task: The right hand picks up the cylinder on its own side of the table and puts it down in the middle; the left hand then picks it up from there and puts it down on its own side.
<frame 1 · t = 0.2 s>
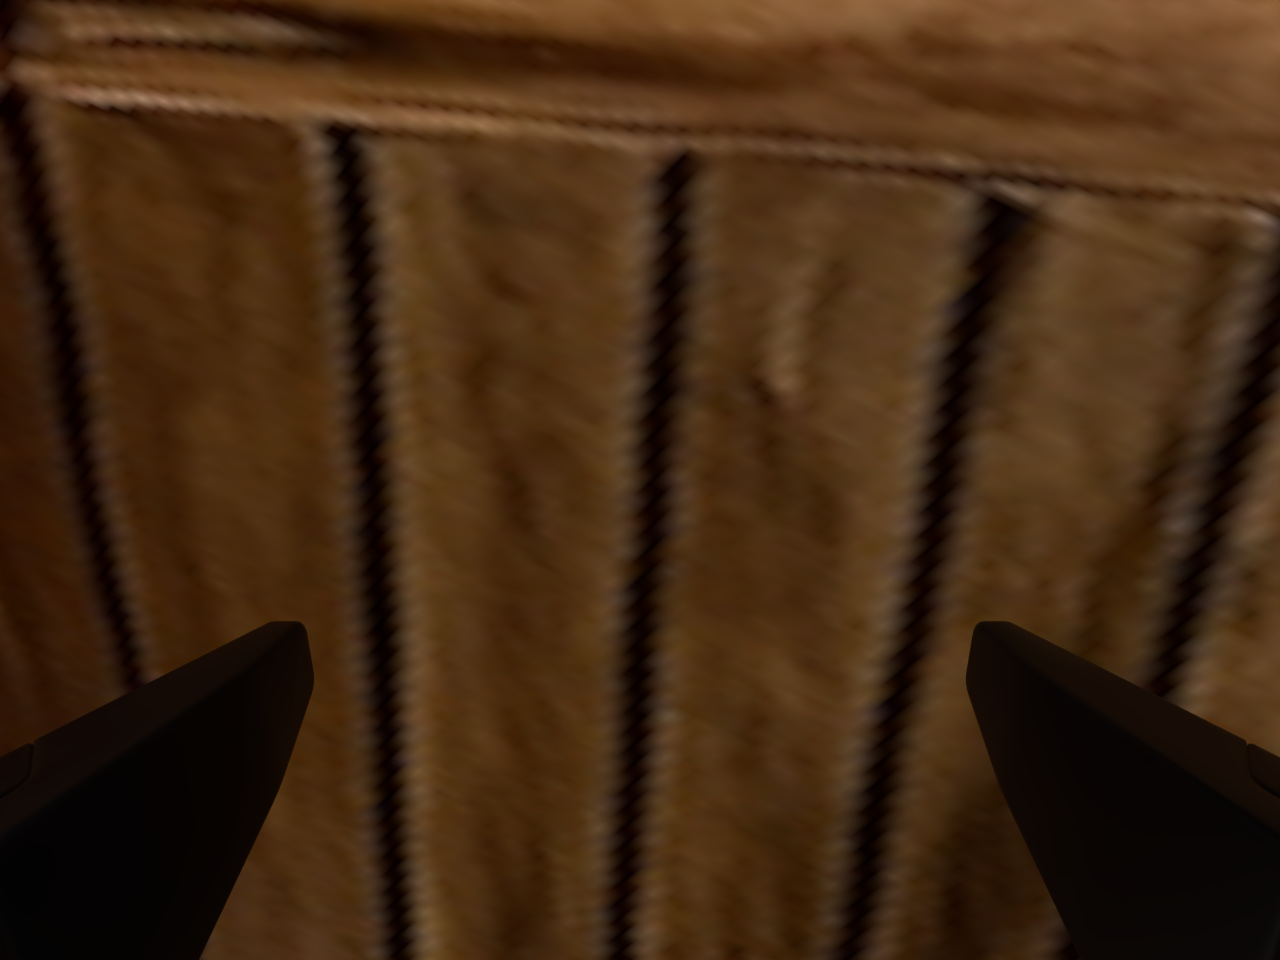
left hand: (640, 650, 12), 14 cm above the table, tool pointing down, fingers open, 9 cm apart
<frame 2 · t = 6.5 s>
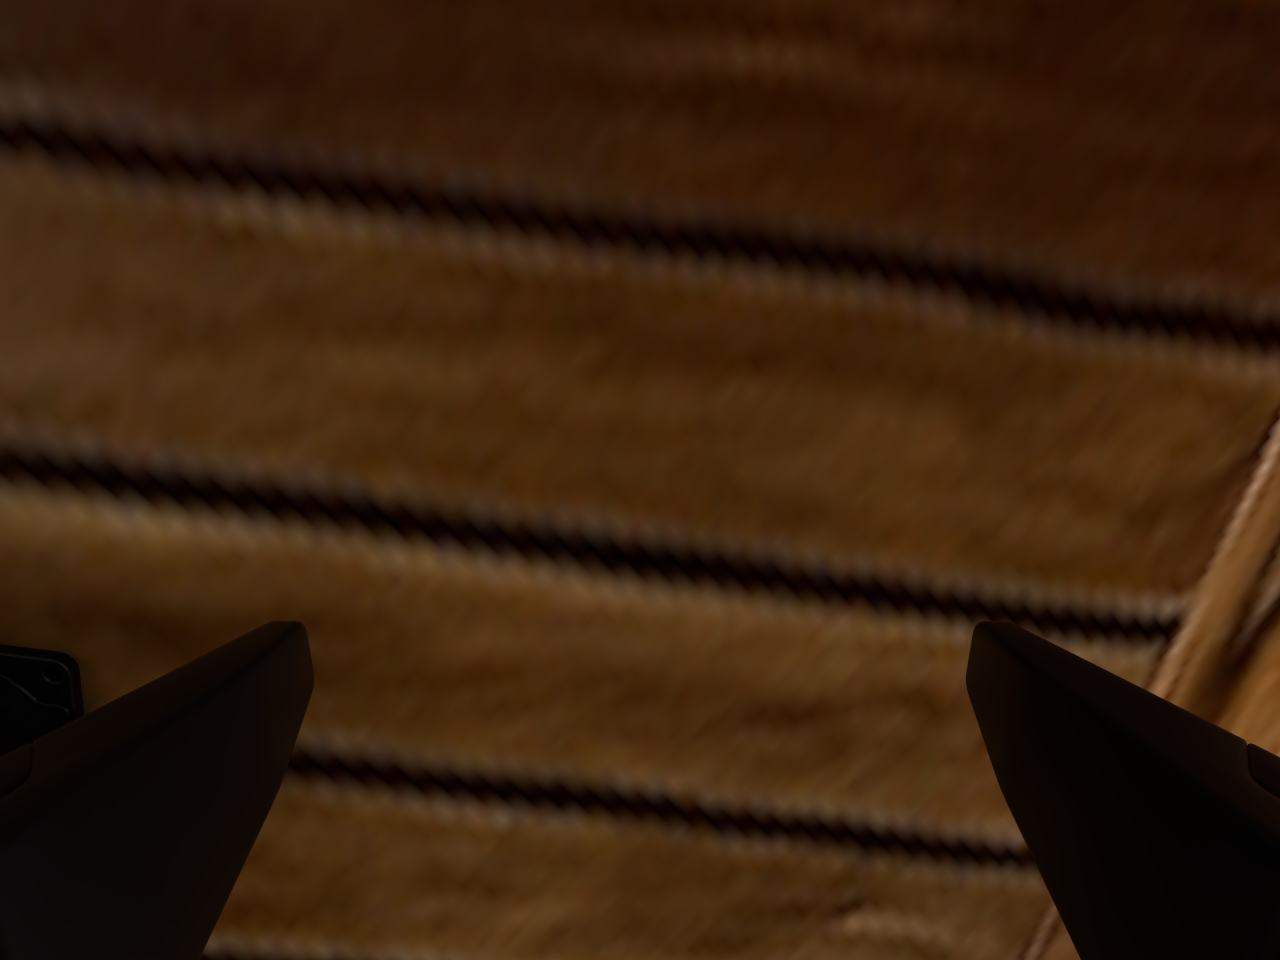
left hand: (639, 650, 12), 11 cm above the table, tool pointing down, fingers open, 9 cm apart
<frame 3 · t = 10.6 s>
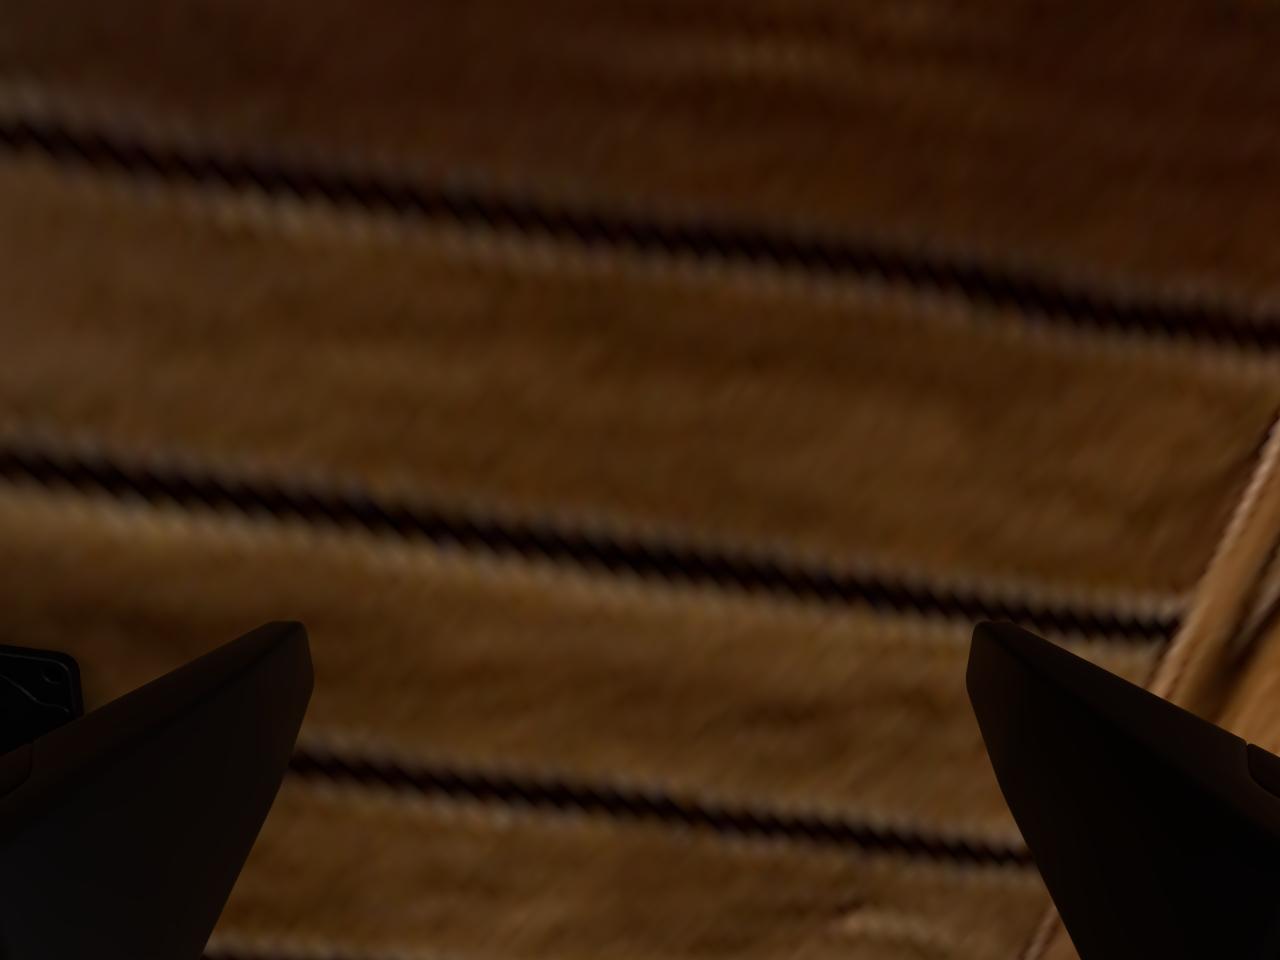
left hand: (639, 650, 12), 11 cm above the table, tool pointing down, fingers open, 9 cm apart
when the right hand's fingers open (1 cm above the table, at t = 15.0 s): cylinder stays where it is, on the table.
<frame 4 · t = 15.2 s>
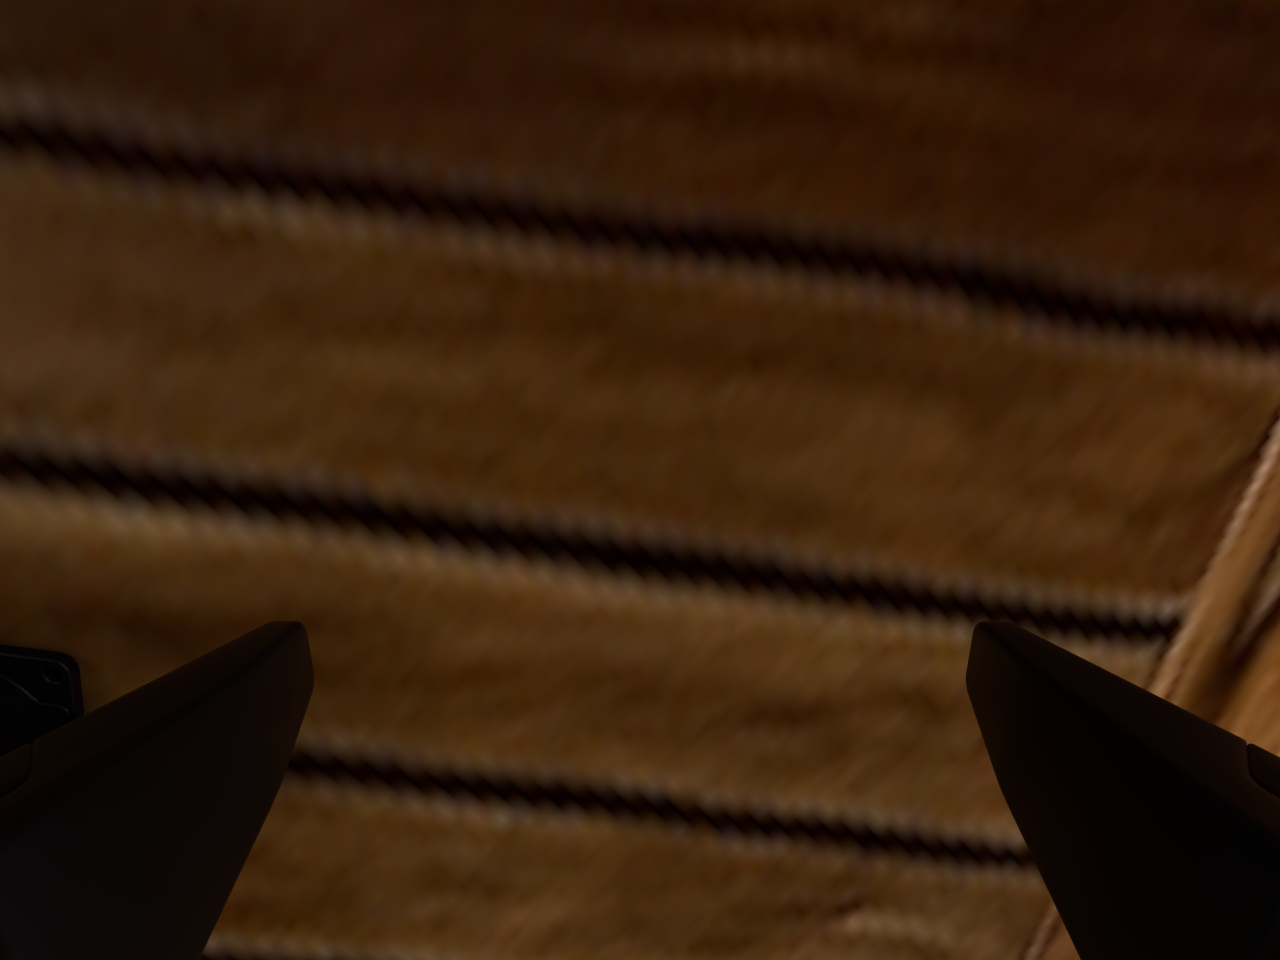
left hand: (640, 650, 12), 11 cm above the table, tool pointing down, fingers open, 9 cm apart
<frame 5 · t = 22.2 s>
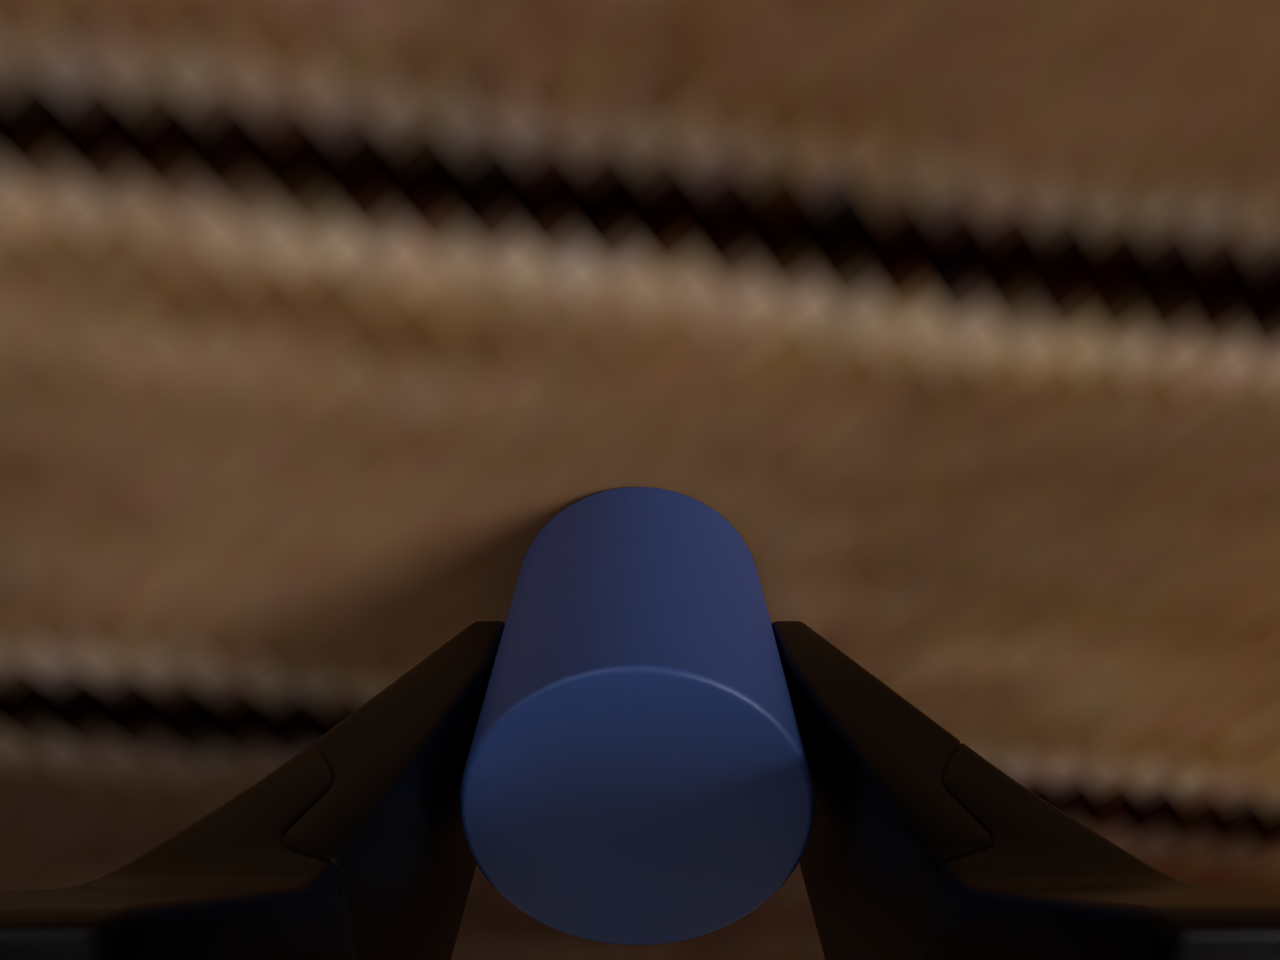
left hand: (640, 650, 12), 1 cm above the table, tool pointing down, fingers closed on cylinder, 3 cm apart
cylinder: (638, 596, 12), on the table, touching left hand
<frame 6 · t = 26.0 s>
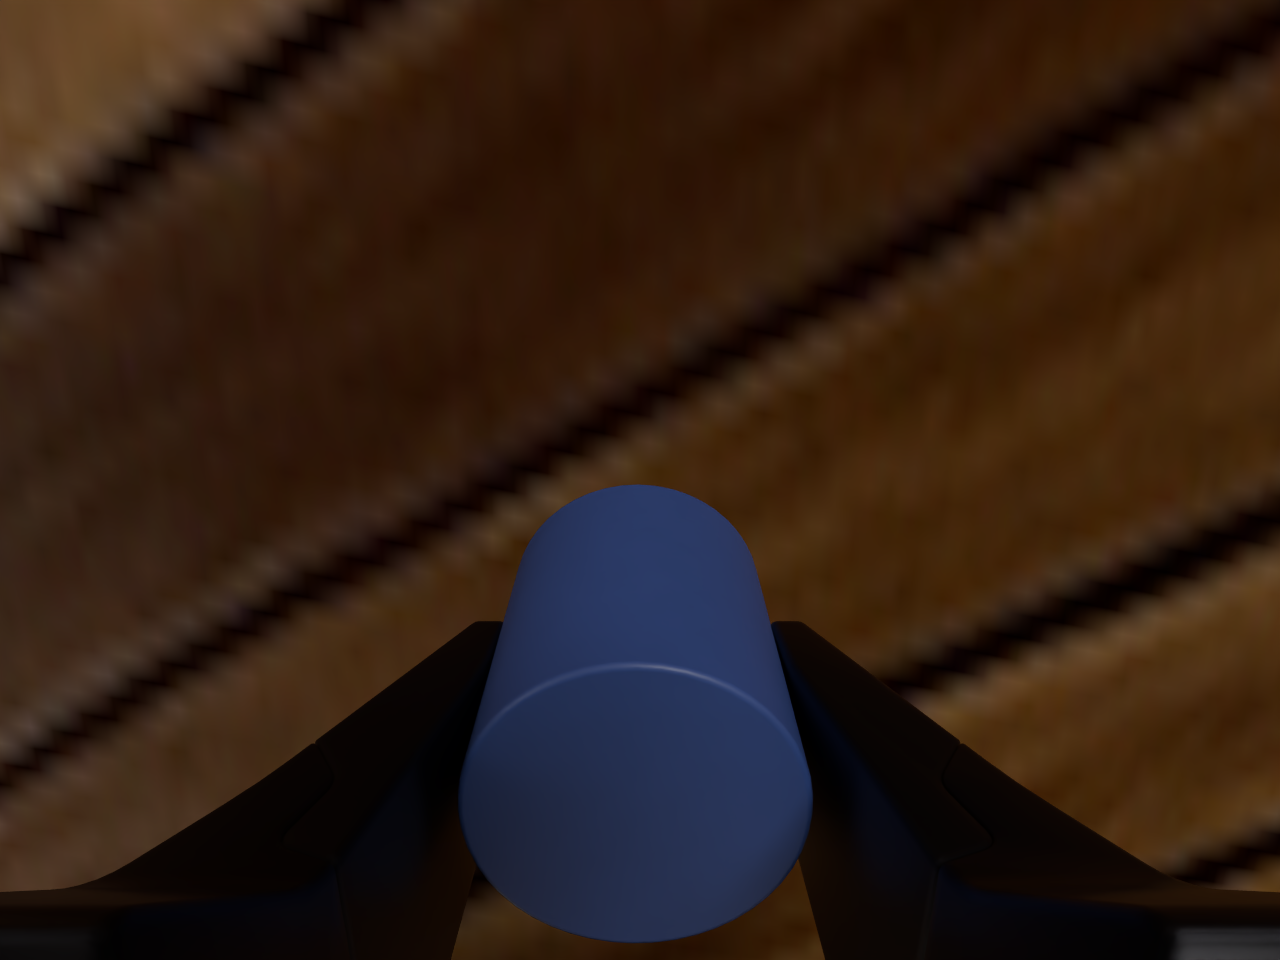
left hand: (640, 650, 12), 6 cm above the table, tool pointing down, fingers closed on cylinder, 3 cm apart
cylinder: (637, 594, 12), point 5 cm above the table, touching left hand
when the left hand's fingers open (2 cm above the table, at t = 30.3 s): cylinder drops 1 cm, on the table.
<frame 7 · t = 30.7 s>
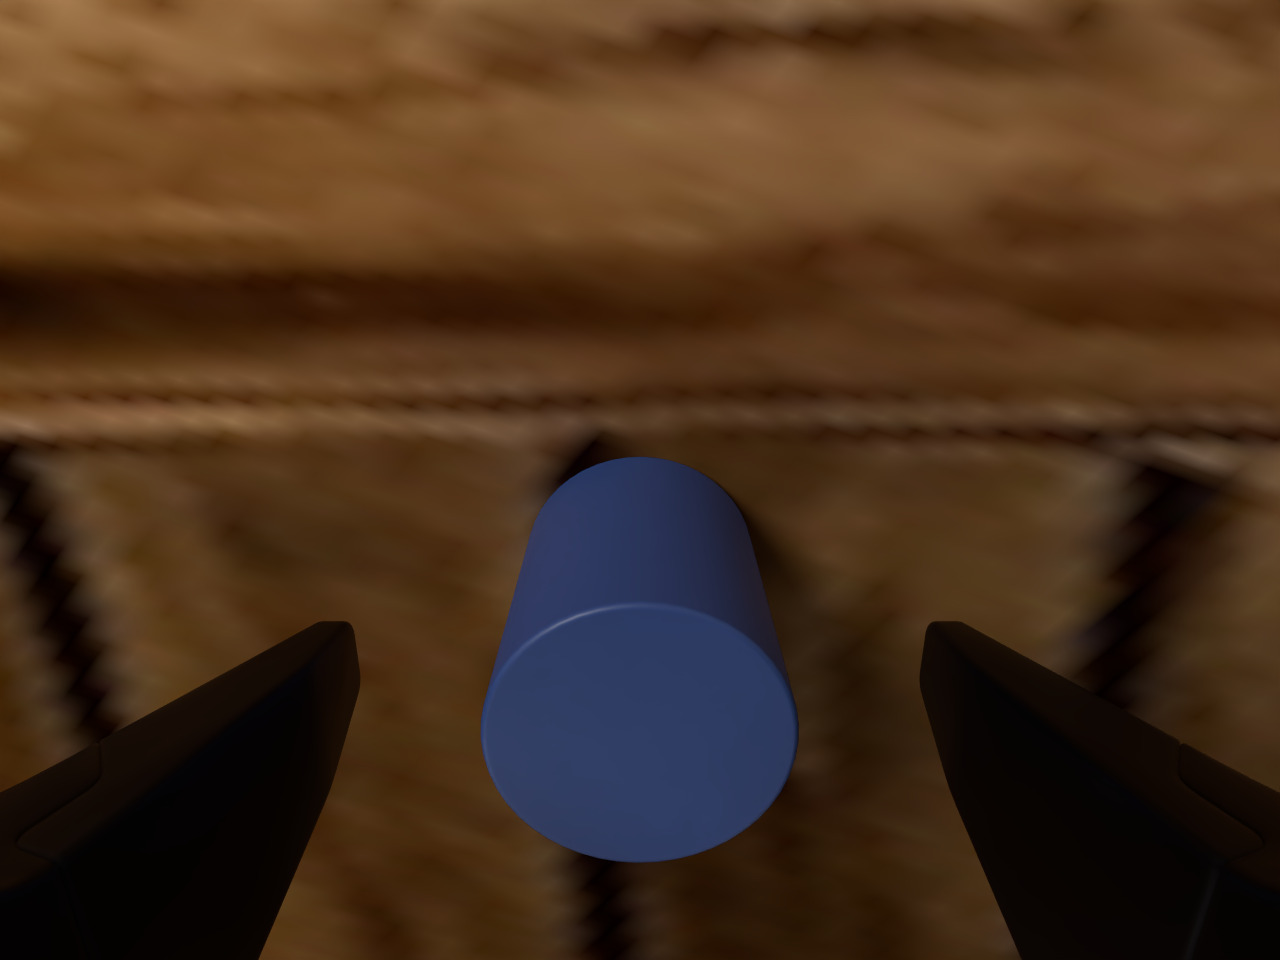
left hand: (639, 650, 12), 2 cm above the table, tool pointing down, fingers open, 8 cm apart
cylinder: (639, 559, 13), on the table
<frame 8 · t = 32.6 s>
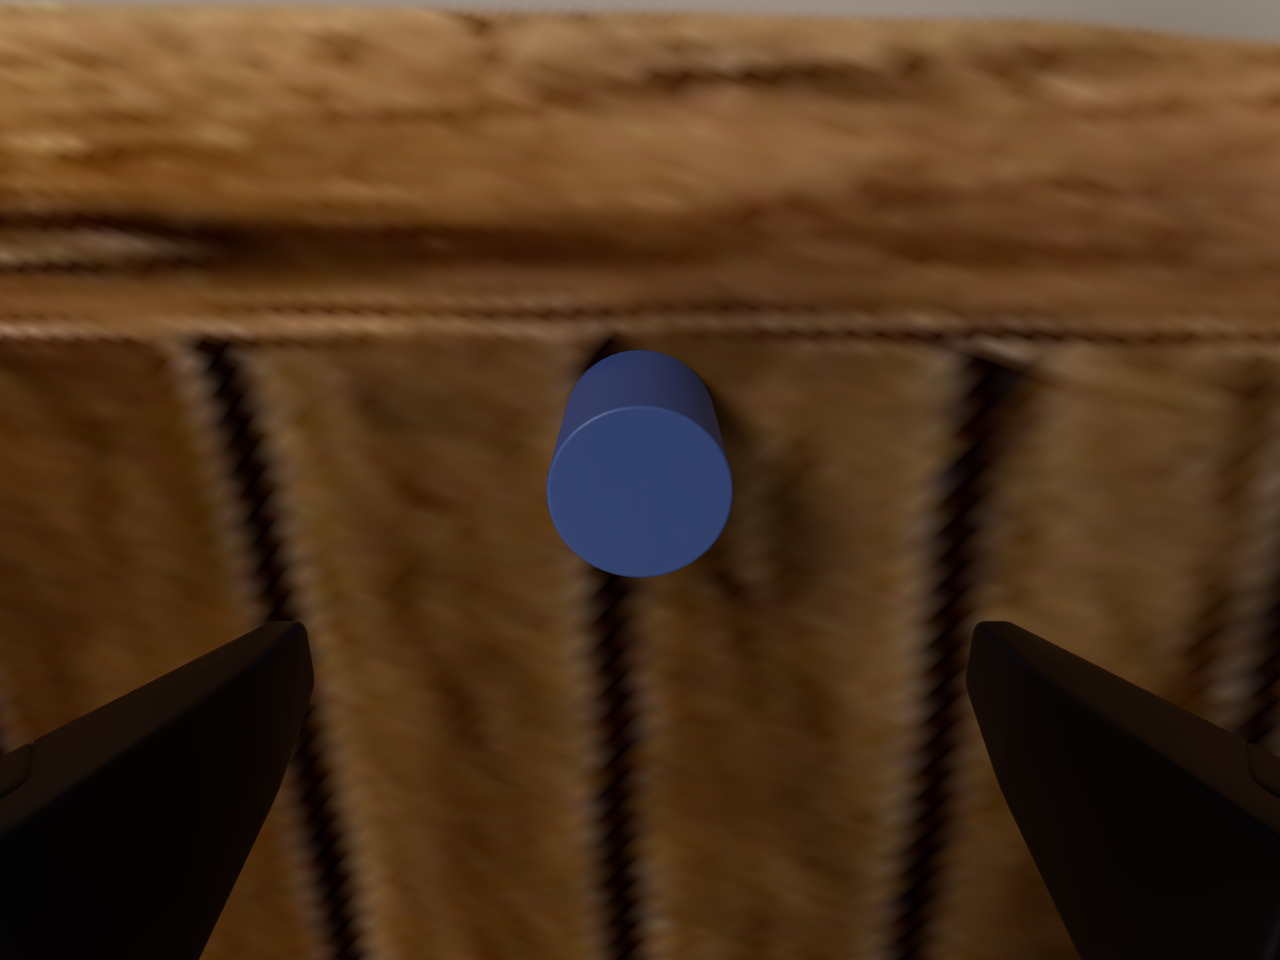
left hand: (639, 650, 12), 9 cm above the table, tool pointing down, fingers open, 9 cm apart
cylinder: (640, 423, 20), on the table
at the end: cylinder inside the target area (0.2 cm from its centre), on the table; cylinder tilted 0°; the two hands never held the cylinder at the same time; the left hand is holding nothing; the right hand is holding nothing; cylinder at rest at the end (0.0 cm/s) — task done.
